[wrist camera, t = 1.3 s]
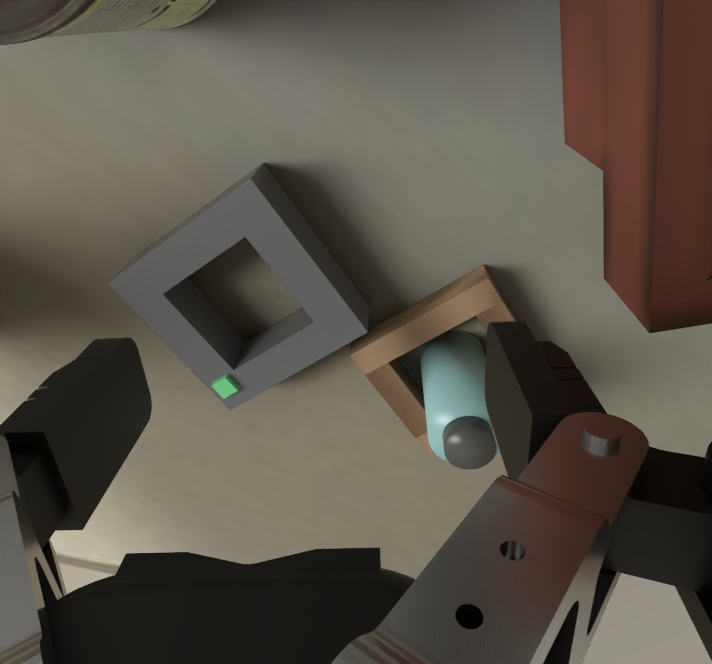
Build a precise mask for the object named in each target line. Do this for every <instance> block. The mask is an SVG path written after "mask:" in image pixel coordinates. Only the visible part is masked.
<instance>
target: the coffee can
mask: <svg viewBox="0 0 712 664" xmlns="http://www.w3.org/2000/svg"><path fill="white" fill-rule="evenodd" d="M216 1H217V0H0V45H7V44H16V43H22V42H27V41H31V40H35V39H39V38H41V37H50V36H63V35H75V34H87V33H101V32H115V31H127V30H139V29H146V30H163V29H169V28H174V27H178V26H181V25H183V24H186V23H188V22H191V21H192V20H194V19H195V18H197V17H199V16H200V15H202V14H203V13H204V12H206V11H207V10H208V9H209V8H210V7H211V6H212V5H213V4H214V3H215V2H216Z"/></svg>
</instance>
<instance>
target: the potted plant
mask: <svg viewBox="0 0 712 664" xmlns="http://www.w3.org/2000/svg"><path fill="white" fill-rule="evenodd" d="M560 21H561V48H562V75H563V102H564V128H565V144H566V145H568V146H569V147H571V148H572V149H573V150H575V151H576V152H578V153H579V154H580V155H582V156H583V157H585V158H586V159H587V160H589V161H590V162H592V163H593V164H594V165H596V166H597V167H599V168H600V169H601V170H603V206H604V279H605V280H606V281H607V282H608V284H609V285H610V286H611V287H612V289H613V290H614V291H615V292H616V293H617V295H618V296H619V297H620V298H621V299H622V301H623V302H624V303H625V304H626V305H627V307H628V308H629V309H630V310H631V311H632V313H633V314H634V315H635V316H636V317H637V319H638V320H639V321H640V322H641V323H642V325H643V326H644V327H645V328H646V329H647V331H648V332H649V333H654V332H660V331H667V330H673V329H679V328H685V327H692V326H698V325H704V324H710V323H712V0H560Z"/></svg>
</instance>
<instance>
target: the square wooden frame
mask: <svg viewBox="0 0 712 664" xmlns="http://www.w3.org/2000/svg"><path fill="white" fill-rule="evenodd" d="M474 316H477V318H478V320H479V321H480V323H481V324H482V326H483V327H484V329H485V330H486V332H487V329H488V324H489V323H490V322H503V321H517V319H516V318H515V316H514V314H513V313H512V311H511V309H510V308H509V306H508V305H507V303H506V301H505V300H504V298H503V296H502V295H501V293H500V291H499V290H498V288H497V287H496V285H495V283H494V282H493V280H492V278H491V277H490V275H489V273H488V272H487V270H486V269H485V267H484V265H482V266H480V267H479V268H477V269H475V270H473V271H472V272H470V273H468V274H466V275H464V276H463V277H461V278H459V279H457V280H456V281H454V282H452V283H450V284H449V285H447V286H445V287H443V288H442V289H440V290H438V291H436V292H434V293H433V294H431V295H429V296H427V297H426V298H424V299H422V300H420V301H419V302H417V303H415V304H413V305H412V306H410V307H408V308H406V309H405V310H403V311H401V312H399V313H397V314H396V315H394V316H392V317H390V318H389V319H387V320H385V321H383V322H382V323H380V324H378V325H376V326H375V327H373V328H371V329H369V330H368V332H367V333H366V334H364V335H362V336H360V337H359V338H357V339H355V340H353V341H352V342H351V346H350V355H349V356H350V357H351V358H352V359H353V361H354V362H355V363H356V364H357V366H358V367H359V368H360V369H361V371H362V372H363V373H364V374H365V376H366V377H367V378H368V379H369V381H370V382H371V383H372V384H373V386H374V387H375V388H376V389H377V391H378V392H379V393H380V394H381V396H382V397H383V398H384V399H385V401H386V402H387V403H388V404H389V406H390V407H391V408H392V409H393V411H394V412H395V413H396V414H397V416H398V417H399V418H400V419H401V421H402V422H403V423H404V424H405V426H406V427H407V428H408V429H409V431H410V432H411V433H412V434H413V436H414V437H415V438H416V439H417V441H418V442H419V443H420V444H421V446H422V447H423V448H424V449H425V451H426V452H427V453H428V454H431V453H433V452H434V451H433V450H432V449H431V447H430V445H429V441H428V432H427V422H426V413H425V403H424V394H423V392H422V391H421V390H420V388H419V387H418V386H417V385H416V383H415V382H414V381H413V379H412V378H411V377H410V375H409V374H408V373H407V371H406V370H405V369H404V367H403V366H402V365H401V363H400V362H399V361H398V359H397V357H399V356H401V355H403V354H405V353H407V352H409V351H410V350H412V349H414V348H416V347H418V346H420V345H422V344H424V343H425V342H427V341H429V340H431V339H433V338H435V337H437V336H438V335H440V334H442V333H444V332H446V331H448V330H450V329H451V328H453V327H455V326H457V325H459V324H461V323H463V322H464V321H466V320H468V319H470V318H472V317H474Z"/></svg>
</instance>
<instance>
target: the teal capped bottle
mask: <svg viewBox="0 0 712 664" xmlns="http://www.w3.org/2000/svg"><path fill="white" fill-rule="evenodd" d="M420 363H421V373H422V383H423V393H424V403H425V413H426V422H427V432H428V441H429V445H430V447H431V449H432V450H433V451H434V453H435V454H436V455H438V456H439V457H440V458H442V459H443V460H445V461H448V462H450V463H451V464H452V465H454V466H456V467H458V468H461V469H477V468H480V467H483V466H485V465H486V464H488V463H489V462H490V461H491V460H492V459H493V458H494V456H495V455H496V454H497V453H498V452H499V451H500V449H499V446H498V443H497V440H496V436H495V433H494V430H493V427H492V424H491V421H490V418H489V415H488V411H487V407H486V401H485V363H486V355H485V351H484V348H483V346H482V344H481V343H480V341H479V340H478V339H477V338H476V337H474V336H473V335H471V334H469V333H466V332H463V331H455V330H452V331H446V332H444V333H442V334H440V335H438V336H437V337H435V338H433V339H431V340H429V341H428V342H427V343H426V344H425V345H424V347H423V349H422V351H421V355H420Z"/></svg>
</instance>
